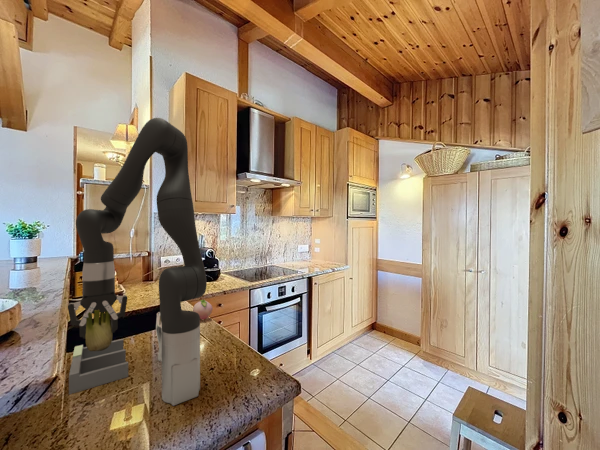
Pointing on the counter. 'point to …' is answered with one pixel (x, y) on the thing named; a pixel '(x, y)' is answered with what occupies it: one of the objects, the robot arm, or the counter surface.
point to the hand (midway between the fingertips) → (99, 334)
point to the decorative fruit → (203, 309)
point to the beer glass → (159, 335)
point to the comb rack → (97, 366)
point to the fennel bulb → (98, 331)
